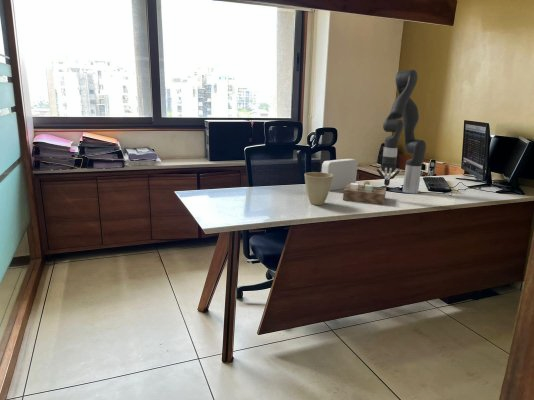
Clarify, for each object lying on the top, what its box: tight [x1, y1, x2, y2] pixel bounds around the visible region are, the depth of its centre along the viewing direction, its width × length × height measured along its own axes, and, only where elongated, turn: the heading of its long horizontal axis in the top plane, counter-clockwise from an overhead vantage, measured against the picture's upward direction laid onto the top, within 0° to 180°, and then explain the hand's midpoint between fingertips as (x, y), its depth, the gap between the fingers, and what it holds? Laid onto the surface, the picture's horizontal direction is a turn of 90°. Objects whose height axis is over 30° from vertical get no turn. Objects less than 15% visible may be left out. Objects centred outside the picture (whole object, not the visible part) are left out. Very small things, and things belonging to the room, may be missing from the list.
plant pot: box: [304, 171, 333, 206], centre depth 202 cm, size 15×15×16 cm
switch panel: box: [342, 184, 387, 206], centre depth 217 cm, size 22×18×6 cm
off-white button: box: [350, 182, 359, 190], centre depth 214 cm, size 4×4×5 cm
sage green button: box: [364, 184, 374, 192], centre depth 212 cm, size 4×4×5 cm
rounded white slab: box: [321, 158, 358, 192], centre depth 243 cm, size 29×8×18 cm, turn 129°
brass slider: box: [363, 180, 371, 187], centre depth 220 cm, size 3×3×4 cm
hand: (386, 185), depth 216 cm, fingers closed
